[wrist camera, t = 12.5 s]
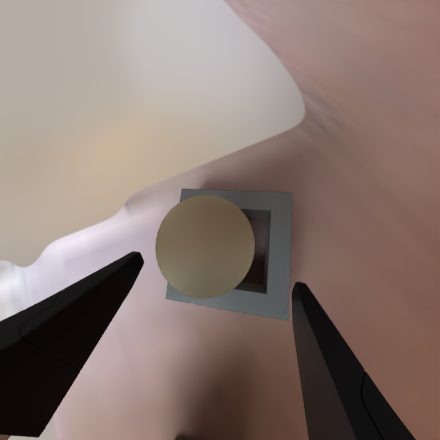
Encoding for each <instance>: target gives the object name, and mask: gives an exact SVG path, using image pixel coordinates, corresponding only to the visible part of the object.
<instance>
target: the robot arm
mask: <svg viewBox="0 0 440 440" xmlns="http://www.w3.org/2000/svg"><path fill="white" fill-rule="evenodd" d="M143 264H144V260H143V258H142V256H141V253H140V252H135V251H133V252H131V253H129V254H127V255H125V256H124V257H122V258H120V259H118V260H116V261H114V262H113V263H111V264H109V265H107V266H105V267H103V268H102V269H100V270H98V271H96V272H94V273H92V274H91V275H89V276H87V277H85V278H83V279H81V280H80V281H78V282H76V283H74V284H72V285H70V286H69V287H67V288H65V289H63V290H61V291H59V292H58V293H56V294H54V295H52V296H50V297H48V298H46V299H45V300H43V301H41V302H39V303H37V304H35V305H33V306H31V307H29V308H27V309H25V310H23V311H21V312H19V313H17V314H15V315H13V316H10V317H8V318H6V319H4V320H2V321H0V440H8V438H9V437H10V436H25V437H39V436H40V435H41V433H42V432H43V430H44V429H45V427H46V426H47V424H48V423H49V421H50V419H51V418H52V416H53V415H54V413H55V411H56V410H57V408H58V406H59V405H60V403H61V402H62V400H63V398H64V397H65V395H66V394H67V392H68V390H69V389H70V387H71V385H72V384H73V382H74V381H75V379H76V377H77V376H78V374H79V373H80V370H81V369H82V368H83V366H84V364H85V363H86V361H87V359H88V358H89V356H90V355H91V353H92V351H93V350H94V348H95V347H96V345H97V343H98V342H99V340H100V338H101V337H102V335H103V334H104V332H105V330H106V329H107V327H108V326H109V324H110V322H111V321H112V319H113V318H114V316H115V314H116V313H117V311H118V309H119V308H120V306H121V305H122V303H123V301H124V300H125V298H126V297H127V295H128V293H129V292H130V290H131V288H132V286H133V285H134V283H135V281H136V279H137V277H138V275H139V273H140V271H141V269H142V267H143ZM292 317H293V331H294V338H295V345H296V352H297V359H298V366H299V373H300V380H301V387H302V394H303V401H304V408H305V415H306V422H307V429H308V436H309V440H416V439H415V438H414V437H413V436H412V434H411V433H410V432H409V430H408V429H407V428H406V426H405V425H404V424H403V422H402V421H401V420H400V418H399V417H398V416H397V414H396V413H395V412H394V410H393V409H392V408H391V406H390V405H389V404H388V402H387V401H386V399H385V398H384V397H383V395H382V394H381V392H380V391H379V390H378V388H377V387H376V385H375V384H374V382H373V381H372V379H371V378H370V377H369V375H368V374H367V372H365V371H364V368H363V366H362V365H361V363H360V362H359V361H358V359H357V358H356V356H355V355H354V353H353V352H352V350H351V349H350V347H349V346H348V345H347V343H346V342H345V340H344V339H343V337H342V336H341V334H340V333H339V331H338V330H337V328H336V327H335V326H334V324H333V323H332V321H331V320H330V318H329V317H328V315H327V314H326V312H325V311H324V309H323V308H322V307H321V305H320V304H319V302H318V301H317V299H316V298H315V296H314V295H313V293H312V292H311V291H310V289H309V288H308V286H307V285H306V284H305V283H303V282H296V283H295V285H294V288H293V290H292Z"/></svg>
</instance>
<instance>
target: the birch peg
mask: <svg viewBox="0 0 440 440" xmlns="http://www.w3.org/2000/svg"><path fill="white" fill-rule="evenodd" d="M254 250H255V240H254V234H253V231H252V227H251V225H250V223H249V220H248V219H247V217H246V216H245V214H244V213H243V212H242V211H241V210H240V209H239V208H238V207H237V206H236V205H235V204H233V203H232V202H230V201H229V200H227V199H224V198H222V197H219V196H214V195H199V196H194V197H191V198H188V199H186V200H184V201H182V202H180V203H179V204H177V205H176V206H175V207H174V208H173V209H172V210H171V211H170V212H169V213H168V214H167V215H166V217H165V218H164V220H163V221H162V223H161V225H160V228H159V230H158V233H157V238H156V258H157V262H158V266H159V268H160V270H161V272H162V274H163V276H164V278H165V279H166V280H167V281H168V283H169V284H170V285H171V286H172V287H174V288H175V289H176V290H178V291H179V292H181V293H183V294H185V295H187V296H190V297H194V298H202V299H206V298H214V297H218V296H221V295H223V294H226V293H227V292H229V291H231V290H232V289H233V288H235V287H236V286H237V285H238V284H239V283H240V282H241V281H242V280H243V279H244V277H245V276H246V274H247V272H248V271H249V269H250V266H251V264H252V261H253V257H254Z"/></svg>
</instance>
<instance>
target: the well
mask: <svg viewBox="0 0 440 440" xmlns="http://www.w3.org/2000/svg"><path fill="white" fill-rule="evenodd" d="M199 195H214V196H219V197H222V198H224V199H227V200H229V201H230V202H232V203H233V204H235V205H236V206H237V207H238V208H239V209H240V210H241V211H242V212H243V213H244V214H245V216H246V217H252V218H267V225H266V242H265V260H264V277H263V284H256V283H249V282H242V281H241V282H240V283H239V284H238V285H237V286H236V287H235V288H233V289H232V290H231V291H229V292H227V293H226V294H223V295H221V296H218V297H214V298H206V299H202V298H194V297H190V296H187V295H185V294H183V293H181V292H179V291H178V290H176V289H175V288H174V287H172V286H171V285H170V284H169V283H168V286H167V292H166V299H169V300H175V301H180V302H186V303H191V304H197V305H203V306H208V307H214V308H219V309H225V310H230V311H236V312H242V313H247V314H253V315H258V316H264V317H269V318H275V319H280V320H286V321H288V320H289V288H290V256H291V224H292V193H286V192H259V191H231V190H204V189H182V192H181V198H180V202H182V201H184V200H186V199H188V198H191V197H194V196H199Z"/></svg>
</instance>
